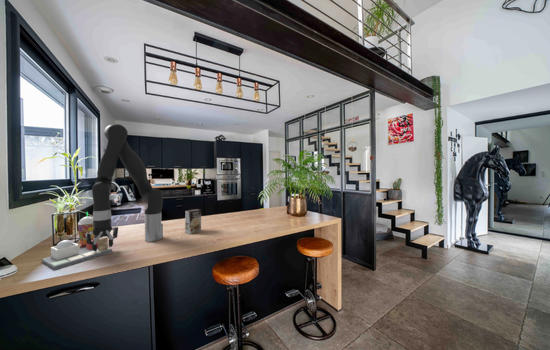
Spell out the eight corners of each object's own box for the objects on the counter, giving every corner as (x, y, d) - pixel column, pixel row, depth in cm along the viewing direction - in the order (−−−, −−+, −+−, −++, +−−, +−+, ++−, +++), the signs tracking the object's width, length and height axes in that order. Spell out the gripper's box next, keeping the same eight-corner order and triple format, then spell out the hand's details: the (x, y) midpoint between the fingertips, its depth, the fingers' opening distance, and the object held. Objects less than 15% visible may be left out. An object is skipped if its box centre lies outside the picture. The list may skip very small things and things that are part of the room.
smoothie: (75, 246, 117) (74, 212, 117) (92, 241, 125) (91, 210, 124) (83, 248, 114) (82, 213, 114) (100, 243, 122) (99, 211, 122)
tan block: (105, 247, 111) (105, 237, 111) (109, 249, 109) (108, 238, 109) (96, 250, 107) (96, 239, 107) (100, 251, 105) (99, 240, 105)
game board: (98, 246, 117) (97, 236, 117) (112, 252, 109) (112, 240, 109) (41, 261, 97) (41, 249, 97) (54, 269, 89) (53, 256, 89)
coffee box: (189, 234, 139) (189, 211, 138) (185, 232, 142) (184, 210, 142) (201, 231, 146) (201, 209, 146) (196, 229, 150) (196, 208, 150)
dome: (70, 248, 105) (70, 237, 105) (75, 250, 103) (75, 239, 102) (54, 252, 100) (54, 241, 100) (58, 255, 97) (58, 243, 97)
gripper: (114, 215, 116) (114, 243, 116) (81, 220, 103) (82, 252, 103) (121, 216, 112) (121, 245, 113) (88, 222, 99) (88, 255, 100)
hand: (102, 248), depth 108 cm, fingers open, 6 cm apart
